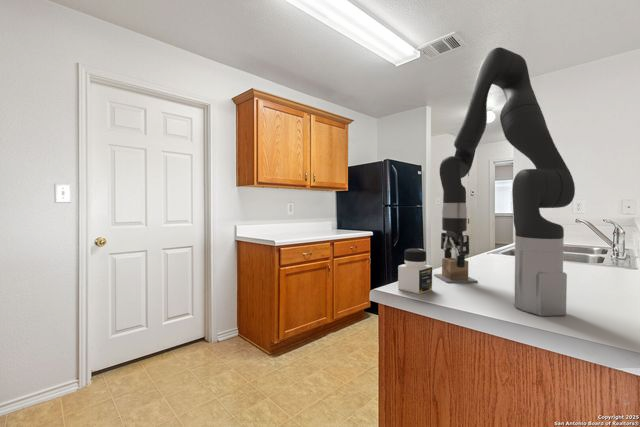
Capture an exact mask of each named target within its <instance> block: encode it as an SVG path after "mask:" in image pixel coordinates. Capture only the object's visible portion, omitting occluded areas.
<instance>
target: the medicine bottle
mask: <svg viewBox="0 0 640 427" xmlns="http://www.w3.org/2000/svg"><path fill="white" fill-rule="evenodd" d="M397 270H398V271H397V272H398V273H397V275H398V276H397V277H398V278H397V287H398V290H401V291H404V292H409V293H413V294H417V295H421V294H423V293H427V292H430V291H432V290H433V266H432V265H430V264H429V265H428V264H427V251H426V250H424V249H422V248H407V249H405V250H404V264H400V265H398V267H397Z"/></svg>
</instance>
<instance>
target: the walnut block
mask: <svg viewBox="0 0 640 427" xmlns="http://www.w3.org/2000/svg"><path fill="white" fill-rule="evenodd" d="M441 274H442V276H444V277H446V278H448V279H450V280H453V279H468V277H469V260H466V259H465V266H464V267H463V268H459V267H457V257H451V258H444V257H442V258H441Z"/></svg>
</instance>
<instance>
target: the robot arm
mask: <svg viewBox="0 0 640 427" xmlns="http://www.w3.org/2000/svg"><path fill="white" fill-rule="evenodd" d="M528 68H529V67H528V63H527V61H526V60H525V58H524V57H523V56H522V55H520V54H518V53H516V52H513V51H512V50H509V49H507V48H505V47H495V48H493V49H491V50H490V51H489V52H488V53H487V54H486V55H485V57H484V58H483V60H482V62H481V64H480V67H479V68H478V71H477V75H476V79H475V82H474V84H473V88H472V93H471V95H470V96H471V97H470V100H469V104H468V107H467V110H466V114H465V116H464V119H463V122H462V124H461V126H460V128H459V131H458V133H457V134H456V137H455V140H454V142H453V146H454V147H455V153H454V155H449V156H446V157H445V158H443V159H442V160H441V163H440V166H439V177H440V178H439V179H440V182H441V187H442V192H443V193H442V195H443V197H442V209H441V210H442V211H441V216H442V217H441V221H442V222H441V227H442V228H441V230H442V231H445V232H441V235H440V249H441V250H442V251H443V252H444V257H443V258H452V250H454V251H455V252H456V255H457V256H456V258H457V267H459V268H463V267H464V266H465V260H466V258H465V257H466V256H468V255H470V237H469V235H464V234H463V232H466V231H467V230H468V226H467V225H468V224H467V223H468V220H467V219H468V218H467V217H468V216H467V215H468V209H467V208H468V207H467V190H466V187H465V186H464V185H463V184H462V179H463V178H464V177H466V176H467V175H468V174H469V173H470V171H471V169H472V166H473V163H474V159H475V156H476V150H477V147H478V146H479V144H480V142H481V139H482V138H483V135H484V134H485V130H486V129H487V128H486V126H487V124H488V123H487V121H488V115H487V114H488V113H487V112H488V110H487V109H488V108H487V107H488V105H487V104H488V95H489V93H490V89H491V88H492V85H495V86H496V87H499V88H500V89H501V90H502V92H503V94H504V97H505V103H504V104H503V107H502V109H501V111H500V115H499V121H500V125H501V128H502V132H503V136H504V137H505V139H506V141H507V142H508V143H509V144H510V145H511V147H513V148H514V149H516V150H518V151H519V152H520V153H522V154H523V155H524V156H525V157H526V158H528V159H529V161H531V162H532V164H533V165H534V167H535V168H525V169H521V170H520V171H517V173H516V175H515V176H514V179H513V182H512V191H511V192H512V194H511V195H512V212H513V215H512V216H513V217H512V218H513V225H514V229H515V230H514V231H515V232H514V233H515V237H514V239H515V240H514V246H515V247H514V307H515V308H516V309H518V310H520V311H523V312H526V313H531V314H535V315H537V316H540V317H541V316H546V317H547V316H548V317H549V316H550V317H551V316H567V288H568V287H567V285H568V284H567V282H568V280H567V279H568V276H567V275H568V274H567V273H566V272H564V242H565V241H564V236H565V233H564V232H565V230H564V229H565V228H564V227H563V225H561V224H558V223H556V222H553V221H550V220H548V219H546V218H545V217H543V216H542V215H541V211H540V209H559V208H565V207H567V206H569V205H570V204H571V203H572V202H573V200H574V198H575V193H576V192H575V191H576V186H575V181H574V178H573V175H572V173H571V171H570V169H569V168H568V166H567V163H566V162H565V160H564V159H563V157H562V155H561V154H560V151H559V150H558V147H557V146H556V144H555V142H554V139H553V138H552V135H551V133H550V130H549V129H548V125H547V122H546V119H545V116H544V113H543V112H542V108H541V106H540V104H539V102H538V100H537V96H536V94H535V91H534V89H533V87H532V83H531V80H530V73H529V69H528Z"/></svg>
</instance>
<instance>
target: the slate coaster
mask: <svg viewBox="0 0 640 427" xmlns="http://www.w3.org/2000/svg"><path fill="white" fill-rule="evenodd" d="M433 276H434V277H436V278H437V279H439V280H441V281H443V282H444V283H447V284H468V283H469V284H470V283H473V284H474V283H475V284H476V283H477V284H478V283H479V281H478V280H477V279H475V278H472V277H470V276H468V279H453V280H450V279H448V278H446V277H444V276H442V273H434V274H433Z"/></svg>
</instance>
